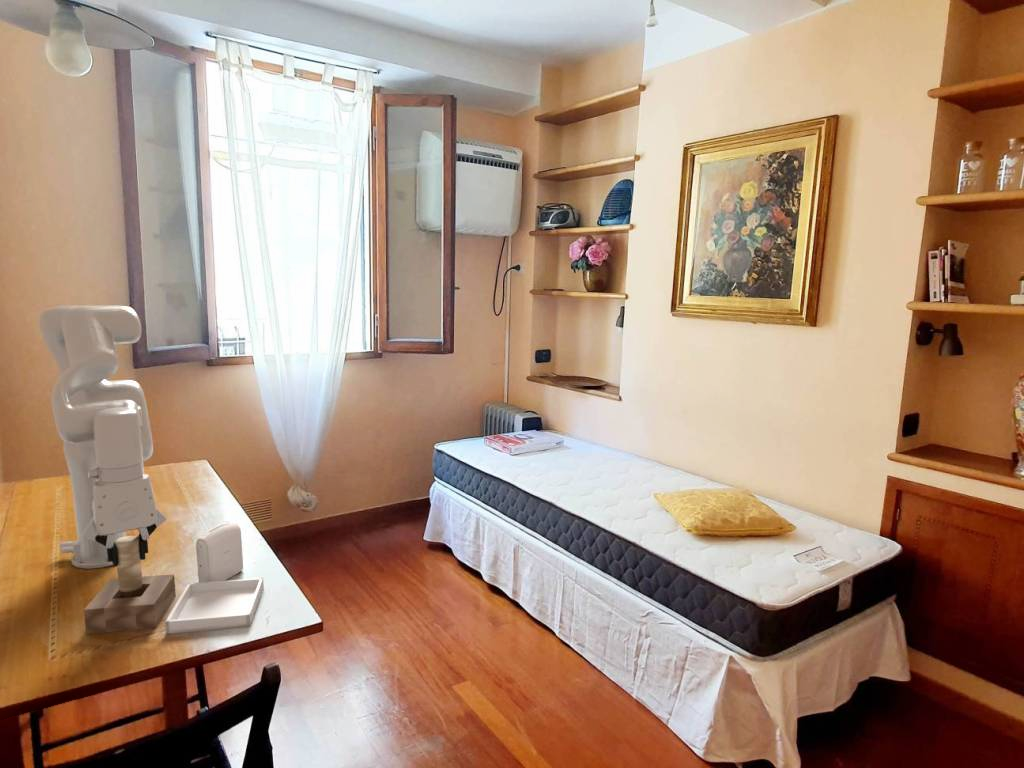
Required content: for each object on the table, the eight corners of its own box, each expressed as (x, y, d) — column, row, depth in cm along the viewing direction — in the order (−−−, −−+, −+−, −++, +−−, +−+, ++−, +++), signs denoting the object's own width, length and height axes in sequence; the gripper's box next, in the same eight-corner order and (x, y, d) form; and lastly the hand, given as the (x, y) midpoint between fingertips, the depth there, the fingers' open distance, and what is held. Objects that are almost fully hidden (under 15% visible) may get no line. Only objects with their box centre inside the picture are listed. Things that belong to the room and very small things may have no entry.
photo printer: (210, 590, 133) (206, 537, 131) (195, 586, 134) (191, 533, 132) (246, 570, 142) (243, 519, 140) (232, 566, 144) (229, 516, 142)
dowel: (121, 594, 120) (116, 546, 118) (117, 585, 122) (113, 539, 121) (144, 587, 122) (140, 541, 120) (140, 579, 125) (136, 533, 123)
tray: (166, 633, 117) (165, 621, 116) (189, 594, 131) (188, 583, 131) (250, 626, 120) (249, 614, 119) (263, 588, 134) (263, 577, 134)
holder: (86, 633, 116) (83, 609, 115) (112, 601, 128) (110, 578, 127) (156, 627, 119) (154, 604, 118) (175, 596, 130) (174, 574, 129)
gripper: (70, 486, 110) (79, 580, 113) (174, 469, 121) (180, 556, 124) (65, 475, 115) (74, 565, 119) (165, 459, 126) (171, 542, 129)
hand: (128, 559), depth 121 cm, fingers closed on dowel, 4 cm apart
